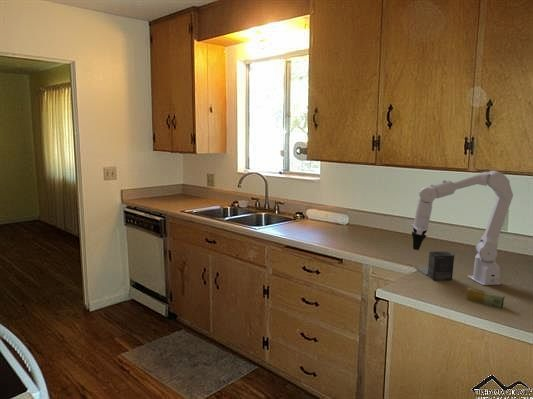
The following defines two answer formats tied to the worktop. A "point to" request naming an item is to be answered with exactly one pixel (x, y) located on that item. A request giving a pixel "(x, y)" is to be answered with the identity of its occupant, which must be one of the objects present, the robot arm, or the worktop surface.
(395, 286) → the worktop surface
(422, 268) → the gray flat panel
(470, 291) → the medication box
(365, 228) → the worktop surface
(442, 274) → the box
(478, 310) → the worktop surface
